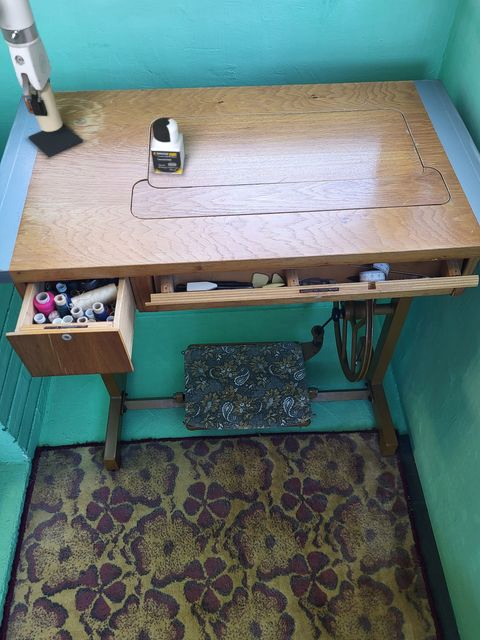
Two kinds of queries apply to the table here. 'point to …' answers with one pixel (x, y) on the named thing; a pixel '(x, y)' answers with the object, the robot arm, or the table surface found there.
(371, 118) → the table surface
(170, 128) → the medicine bottle
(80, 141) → the rubber mat
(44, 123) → the cream cylinder canister
